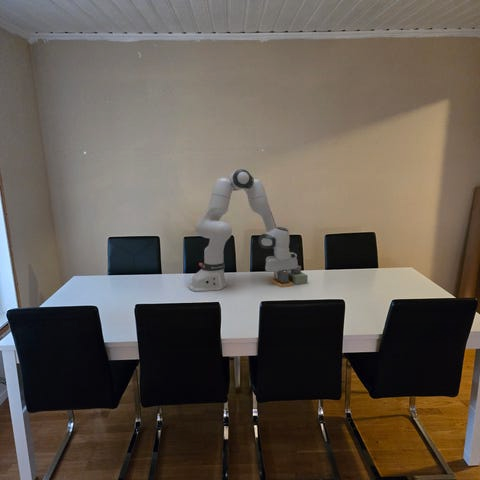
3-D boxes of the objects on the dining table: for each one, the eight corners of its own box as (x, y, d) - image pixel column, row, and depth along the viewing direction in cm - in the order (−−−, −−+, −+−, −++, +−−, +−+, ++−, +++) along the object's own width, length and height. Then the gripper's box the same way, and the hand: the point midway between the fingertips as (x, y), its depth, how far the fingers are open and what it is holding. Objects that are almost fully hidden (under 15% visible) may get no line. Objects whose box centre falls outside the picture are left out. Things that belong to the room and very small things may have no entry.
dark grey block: (282, 282, 223) (282, 274, 222) (274, 278, 232) (274, 270, 231) (288, 281, 225) (288, 273, 224) (280, 277, 234) (280, 269, 233)
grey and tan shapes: (281, 287, 221) (281, 272, 219) (270, 280, 234) (270, 266, 232) (307, 283, 228) (308, 268, 226) (295, 277, 240) (296, 263, 239)
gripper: (268, 257, 219) (268, 280, 221) (299, 254, 226) (298, 276, 229) (263, 255, 224) (263, 278, 227) (293, 252, 232) (293, 274, 235)
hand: (281, 277), depth 228 cm, fingers closed on dark grey block, 4 cm apart
